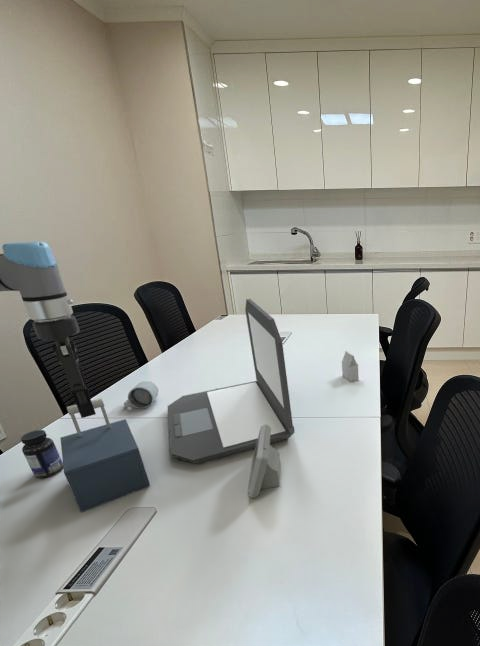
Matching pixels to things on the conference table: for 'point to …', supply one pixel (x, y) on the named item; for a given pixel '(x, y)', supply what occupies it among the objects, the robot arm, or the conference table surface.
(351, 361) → the grey house-shaped block
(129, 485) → the dark blue box
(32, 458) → the pill bottle
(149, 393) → the ceramic mug
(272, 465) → the digital clock
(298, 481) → the conference table surface
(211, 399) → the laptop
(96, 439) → the lid
